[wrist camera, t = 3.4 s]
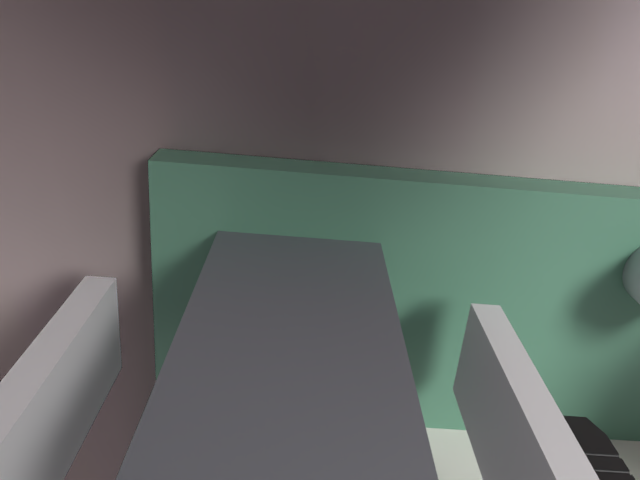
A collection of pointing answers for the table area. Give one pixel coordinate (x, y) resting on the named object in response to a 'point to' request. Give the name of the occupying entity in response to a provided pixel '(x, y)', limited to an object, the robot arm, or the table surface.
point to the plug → (285, 371)
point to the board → (434, 262)
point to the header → (461, 465)
